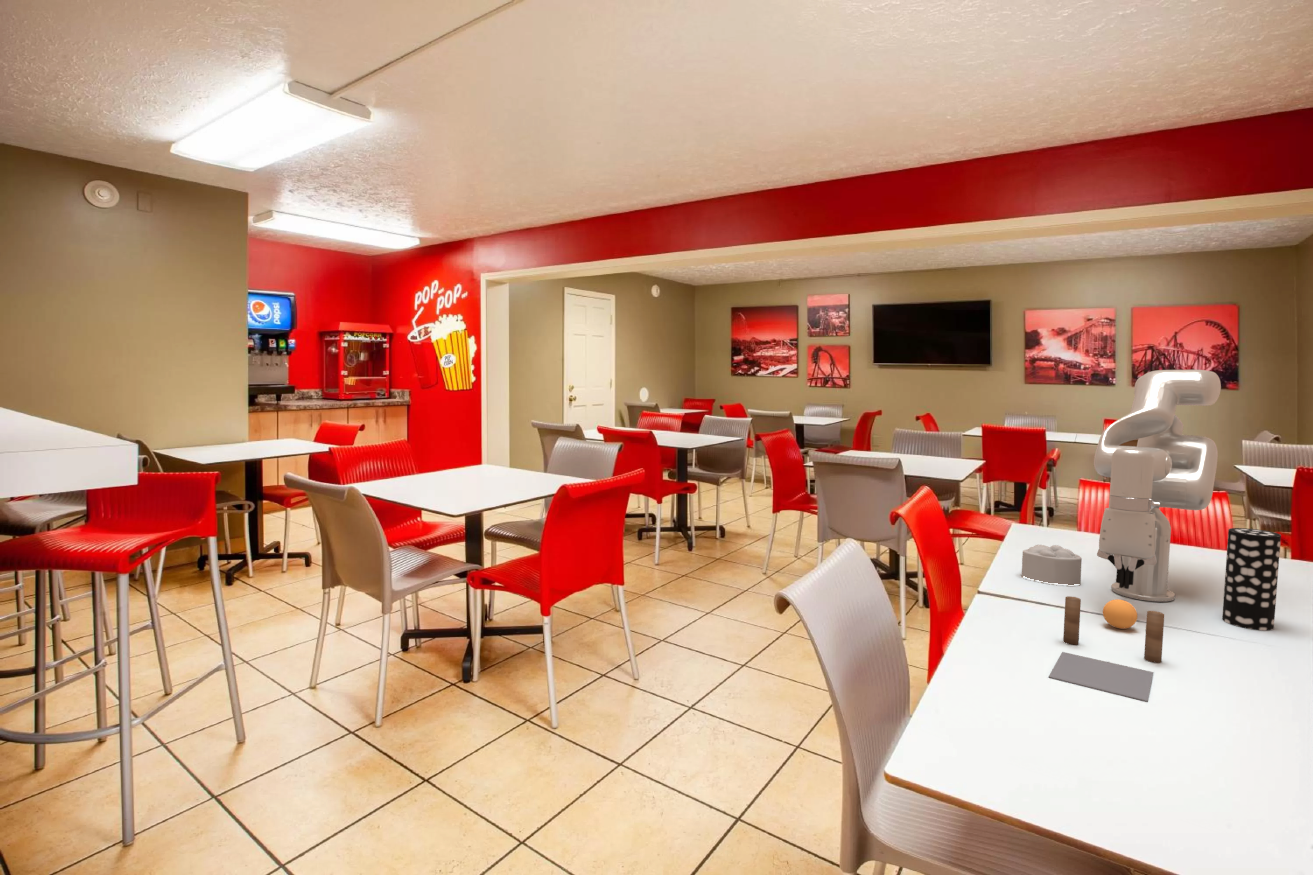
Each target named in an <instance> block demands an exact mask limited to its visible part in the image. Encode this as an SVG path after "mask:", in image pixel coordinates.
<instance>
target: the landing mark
mask: <svg viewBox="0 0 1313 875" xmlns="http://www.w3.org/2000/svg"><path fill="white" fill-rule="evenodd" d="M1153 676H1154V672H1153V671H1150V670H1144V669H1140V668H1137V667H1132V666H1127V665H1122V664H1119V663H1115V662H1110V661H1107V660H1106V661H1104V660H1100V659H1096V658H1091V657H1087V656H1083V655H1077V654H1074V653H1069V652H1065V651H1062V652H1061V653H1060V656H1059V657H1058V658H1057V661H1056V662H1055V664H1054V666H1053V668H1052V670H1051V671H1050V673H1049V675H1048V678H1049V679H1054V680H1057V681H1061V682H1064V683H1070V684H1073V685H1078V686H1081V687H1086V688H1090V689H1094V690H1097V691H1102V692H1106V693H1109V694H1113V695H1118V696H1122V697H1126V698H1130V699H1134V700H1138V701H1143V702H1146V703H1148V702H1149V698H1150V694H1151V693H1150V692H1151V687H1152V683H1153V682H1152V681H1153Z"/></svg>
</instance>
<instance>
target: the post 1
mask: <svg viewBox="0 0 1313 875" xmlns="http://www.w3.org/2000/svg"><path fill="white" fill-rule="evenodd" d="M1081 605H1082V601H1081V598H1079V597H1076V596H1068V595H1067V596H1065V599H1064V619H1063V620H1064V621H1063V638H1062V640H1063V641H1064V642H1065V643H1064V642H1063V641H1062V642H1063V643H1064V644H1066V643H1067V645H1071V646H1078V645H1079V643H1080V641H1079V640H1080V627H1081V626H1080V622H1081Z"/></svg>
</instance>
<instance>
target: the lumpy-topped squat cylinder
mask: <svg viewBox="0 0 1313 875" xmlns="http://www.w3.org/2000/svg"><path fill="white" fill-rule="evenodd" d="M1082 559H1083V558H1082V556H1080V555H1079V554H1076V553H1075V552H1073V551H1072V550H1071V549H1069V548H1064V547H1062V546H1061V545H1059V544H1058V545H1057V544H1055V545H1054V544H1053V545H1050V546H1047V545H1044V544H1043V545H1042V544H1035V545H1033V546H1031V547H1028V548H1027V549H1024V550H1022V558H1021V560H1022V561H1021V577H1022V576H1025V577H1027V578H1030V579H1034V580H1039V581H1043V582H1048V583H1058V584H1068V585H1074V584H1080V585H1081V579H1082V564H1083V563H1082Z"/></svg>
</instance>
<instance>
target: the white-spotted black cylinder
mask: <svg viewBox="0 0 1313 875" xmlns="http://www.w3.org/2000/svg"><path fill="white" fill-rule="evenodd" d="M1281 539H1282V535H1281V533H1278V532H1274V531H1269V530H1263V529H1257V528H1244V527H1243V528H1242V527H1232V528H1231V527H1230V528H1228V532H1227V546H1226V561H1225V571H1224V572H1225V573H1224V574H1225V575H1224V588H1223V602H1222V604H1223V605H1222V614H1221V615H1222V618H1221V620H1222V621H1223V622H1225V623H1226V624H1229V625H1231V626H1235V627H1239V628H1242V629H1243V628H1244V629H1248V630H1253V631H1254V630H1255V631H1273V630H1274V629H1275V618H1276V617H1275V615H1276V604H1277V593H1278V581H1279V580H1278V578H1279V565H1280V551H1281V542H1282V541H1281Z"/></svg>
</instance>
